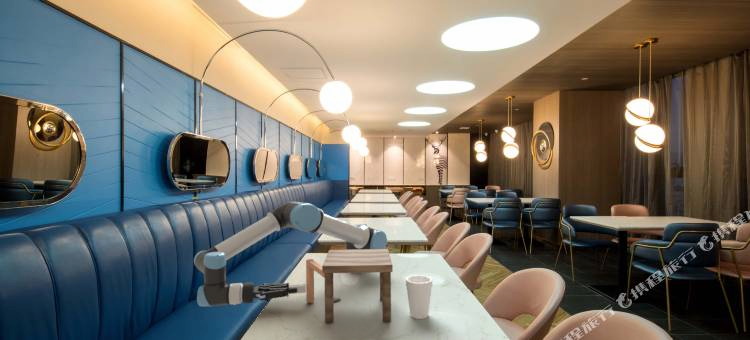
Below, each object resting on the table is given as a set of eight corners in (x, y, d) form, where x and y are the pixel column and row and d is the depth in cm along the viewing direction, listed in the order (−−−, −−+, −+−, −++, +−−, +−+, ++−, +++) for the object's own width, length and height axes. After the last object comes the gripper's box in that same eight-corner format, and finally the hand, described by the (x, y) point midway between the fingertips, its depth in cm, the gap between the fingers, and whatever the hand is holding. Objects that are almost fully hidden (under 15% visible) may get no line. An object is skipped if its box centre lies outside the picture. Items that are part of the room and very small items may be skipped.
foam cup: (417, 307, 136) (417, 273, 136) (437, 314, 129) (437, 279, 129) (400, 315, 129) (400, 279, 129) (421, 323, 123) (420, 285, 123)
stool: (328, 298, 147) (328, 249, 147) (388, 297, 148) (387, 248, 147) (321, 324, 122) (320, 266, 122) (392, 322, 123) (392, 264, 123)
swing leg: (331, 317, 127) (330, 270, 127) (323, 318, 125) (322, 272, 125) (312, 299, 144) (312, 258, 144) (305, 300, 142) (305, 259, 142)
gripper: (245, 296, 143) (305, 291, 148) (239, 310, 129) (306, 304, 134) (245, 277, 143) (305, 273, 148) (239, 289, 129) (306, 284, 134)
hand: (305, 288), depth 141 cm, fingers closed
